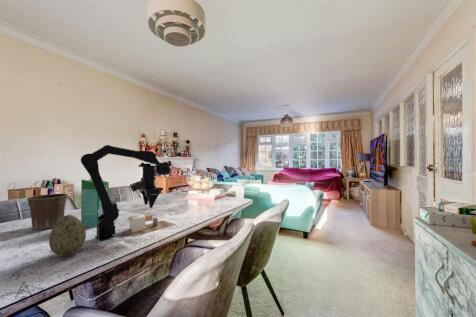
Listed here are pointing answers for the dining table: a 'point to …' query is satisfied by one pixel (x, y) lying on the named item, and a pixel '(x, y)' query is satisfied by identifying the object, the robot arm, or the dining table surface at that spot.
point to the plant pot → (46, 210)
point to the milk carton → (91, 203)
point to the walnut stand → (150, 227)
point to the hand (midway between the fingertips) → (148, 206)
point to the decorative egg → (67, 236)
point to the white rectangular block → (139, 222)
